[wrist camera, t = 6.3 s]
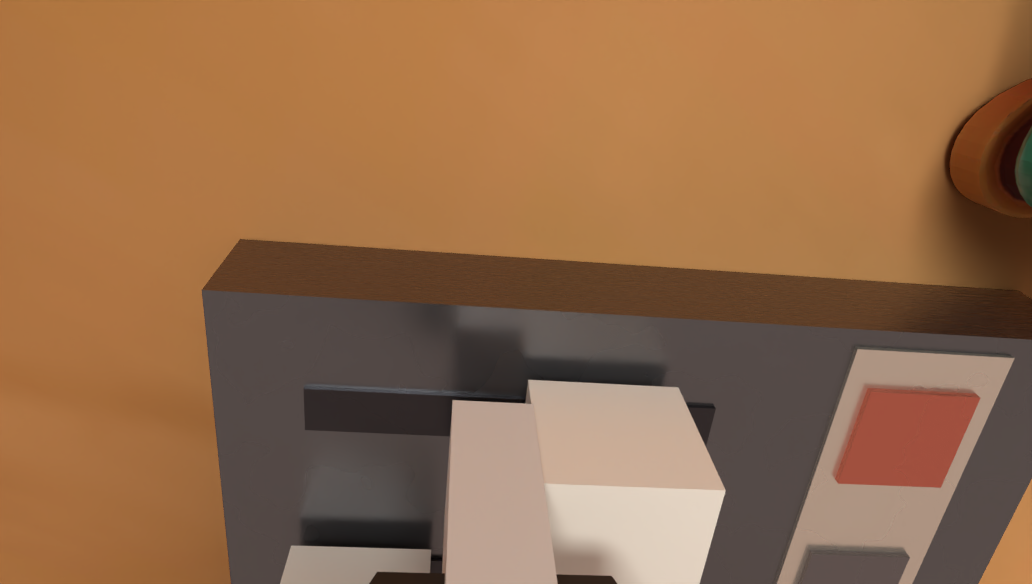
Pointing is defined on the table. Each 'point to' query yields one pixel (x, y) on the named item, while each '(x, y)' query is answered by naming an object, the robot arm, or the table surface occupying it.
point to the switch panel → (628, 361)
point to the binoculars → (997, 154)
